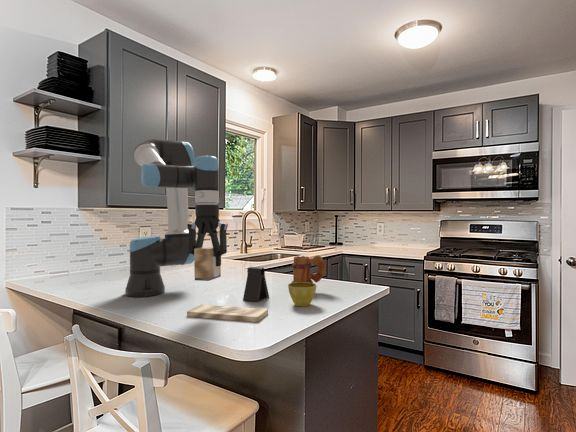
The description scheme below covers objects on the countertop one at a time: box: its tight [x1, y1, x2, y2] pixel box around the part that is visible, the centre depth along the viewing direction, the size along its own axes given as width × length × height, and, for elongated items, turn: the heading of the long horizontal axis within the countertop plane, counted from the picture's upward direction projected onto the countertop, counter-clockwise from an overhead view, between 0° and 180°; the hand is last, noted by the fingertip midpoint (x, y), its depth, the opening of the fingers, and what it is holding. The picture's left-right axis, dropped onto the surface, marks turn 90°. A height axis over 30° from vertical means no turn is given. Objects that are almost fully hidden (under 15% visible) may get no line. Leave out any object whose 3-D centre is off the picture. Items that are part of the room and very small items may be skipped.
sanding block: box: [193, 246, 222, 282], centre depth 115 cm, size 5×8×10 cm, turn 164°
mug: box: [290, 254, 326, 283], centre depth 148 cm, size 15×8×15 cm, turn 68°
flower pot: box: [287, 282, 317, 307], centre depth 126 cm, size 10×10×7 cm
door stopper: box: [242, 266, 270, 303], centre depth 135 cm, size 9×6×12 cm, turn 152°
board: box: [186, 304, 269, 323], centre depth 114 cm, size 24×9×2 cm, turn 74°
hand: (208, 275), depth 115 cm, fingers closed on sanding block, 5 cm apart
